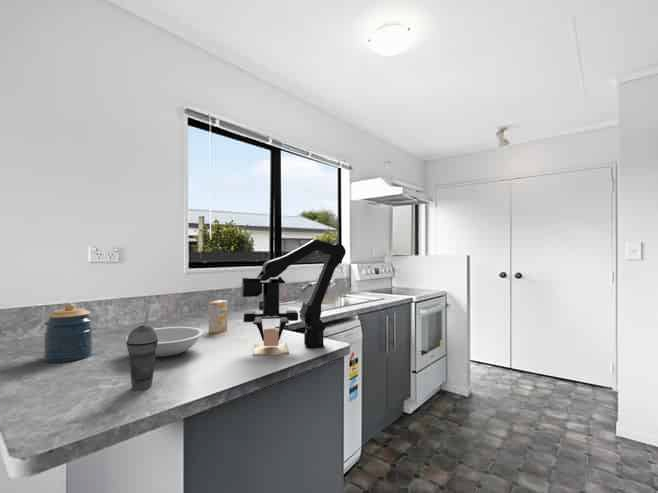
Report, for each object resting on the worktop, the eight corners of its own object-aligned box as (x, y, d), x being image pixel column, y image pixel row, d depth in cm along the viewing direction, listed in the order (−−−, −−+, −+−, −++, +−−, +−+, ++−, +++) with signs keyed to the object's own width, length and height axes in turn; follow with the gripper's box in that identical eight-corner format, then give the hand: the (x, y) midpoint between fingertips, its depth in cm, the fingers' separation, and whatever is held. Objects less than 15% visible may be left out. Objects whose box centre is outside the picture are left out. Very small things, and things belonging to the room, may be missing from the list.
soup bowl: (107, 360, 112) (107, 339, 112) (165, 342, 135) (166, 324, 135) (165, 369, 104) (166, 346, 104) (218, 348, 127) (218, 329, 127)
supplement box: (218, 333, 149) (218, 302, 149) (208, 333, 150) (208, 302, 150) (227, 329, 157) (228, 299, 157) (217, 328, 158) (218, 299, 158)
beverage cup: (133, 382, 94) (134, 306, 94) (162, 381, 94) (163, 306, 94) (119, 393, 86) (120, 311, 87) (150, 392, 87) (151, 310, 87)
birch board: (286, 344, 132) (286, 343, 132) (288, 354, 120) (289, 352, 120) (253, 346, 129) (253, 344, 129) (252, 355, 118) (252, 353, 118)
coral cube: (277, 341, 128) (277, 328, 128) (278, 345, 123) (278, 331, 123) (263, 342, 127) (263, 328, 127) (263, 346, 122) (263, 331, 122)
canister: (101, 353, 119) (102, 301, 119) (61, 365, 107) (62, 307, 107) (74, 350, 123) (75, 299, 123) (33, 360, 111) (34, 304, 111)
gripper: (295, 293, 134) (295, 334, 134) (245, 294, 131) (245, 336, 131) (298, 297, 124) (298, 341, 123) (243, 298, 120) (243, 344, 120)
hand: (270, 340), depth 125 cm, fingers closed on coral cube, 5 cm apart
